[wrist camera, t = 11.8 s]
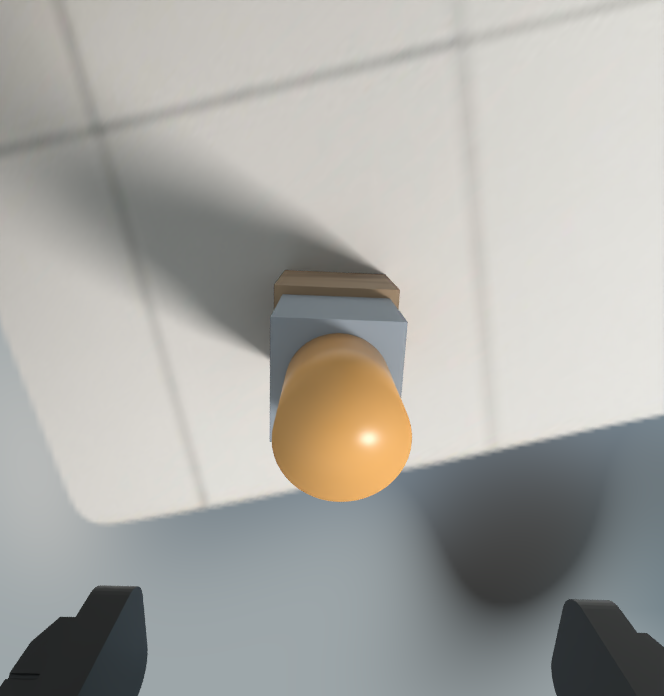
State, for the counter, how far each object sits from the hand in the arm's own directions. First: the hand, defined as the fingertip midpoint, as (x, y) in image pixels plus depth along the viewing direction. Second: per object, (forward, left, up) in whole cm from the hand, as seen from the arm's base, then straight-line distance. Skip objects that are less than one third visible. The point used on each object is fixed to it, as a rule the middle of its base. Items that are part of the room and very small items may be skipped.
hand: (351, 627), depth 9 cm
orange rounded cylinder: (0, 0, -13) cm, 13 cm away
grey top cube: (0, 0, -19) cm, 19 cm away
